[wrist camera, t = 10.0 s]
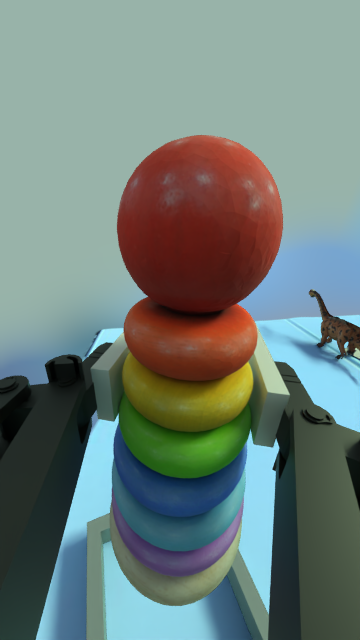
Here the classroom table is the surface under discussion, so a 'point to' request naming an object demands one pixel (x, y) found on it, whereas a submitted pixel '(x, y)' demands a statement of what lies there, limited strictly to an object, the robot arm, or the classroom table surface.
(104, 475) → the classroom table surface
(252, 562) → the classroom table surface
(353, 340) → the toy dinosaur
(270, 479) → the classroom table surface
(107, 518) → the socket collar
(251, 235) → the stacking toy
